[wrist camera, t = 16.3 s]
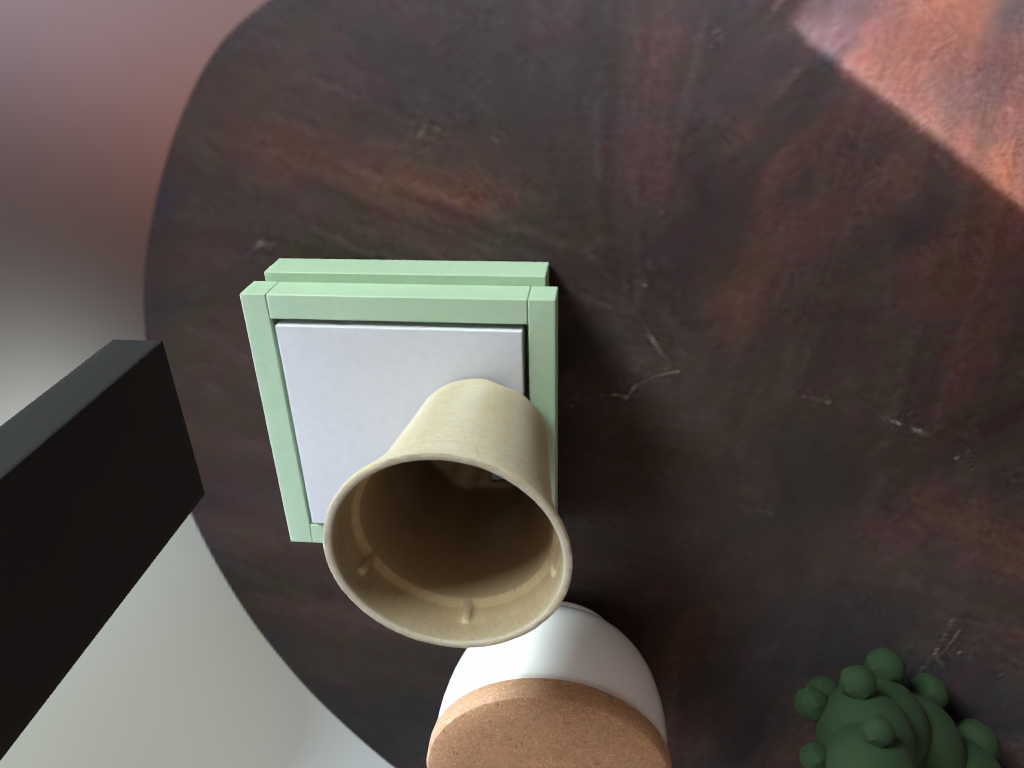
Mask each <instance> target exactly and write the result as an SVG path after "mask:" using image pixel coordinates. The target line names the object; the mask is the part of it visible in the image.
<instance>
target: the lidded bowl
mask: <svg viewBox="0 0 1024 768" xmlns="http://www.w3.org/2000/svg"><path fill="white" fill-rule="evenodd" d="M427 768H672V764H671V756H670V753H669V750H668V744H667V733H666V724H665V716H664V712H663V707H662V703H661V699H660V696H659V693H658V690H657V687H656V684H655V681H654V678H653V675H652V673H651V671H650V669H649V667H648V666H647V664H646V662H645V660H644V659H643V657H642V655H641V653H640V652H639V651H638V649H637V648H636V647H635V646H634V645H633V643H632V642H631V641H630V640H629V639H628V638H627V637H626V636H625V635H624V634H623V633H622V632H621V631H620V630H618V629H617V628H616V627H615V626H613V625H611V624H610V623H608V622H607V621H605V620H604V619H603V618H602V617H601V616H600V615H598V614H597V613H595V612H594V611H592V610H590V609H588V608H586V607H583V606H580V605H577V604H574V603H569V602H563V601H562V603H561V605H560V606H559V608H558V609H557V610H556V611H555V612H554V614H553V615H552V616H550V617H549V618H548V619H547V620H546V621H544V622H543V623H542V624H540V625H539V626H538V627H537V628H536V629H534V630H533V631H531V632H529V633H527V634H525V635H523V636H521V637H518V638H516V639H513V640H510V641H507V642H504V643H502V644H498V645H492V646H486V647H476V648H473V647H470V648H467V650H466V651H465V653H464V654H463V655H462V657H461V659H460V661H459V663H458V664H457V666H456V668H455V670H454V673H453V675H452V677H451V680H450V682H449V685H448V687H447V690H446V692H445V695H444V698H443V701H442V705H441V708H440V712H439V717H438V720H437V723H436V725H435V727H434V729H433V732H432V735H431V739H430V743H429V748H428V754H427Z"/></svg>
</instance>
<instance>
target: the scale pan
mask: <svg viewBox="0 0 1024 768" xmlns="http://www.w3.org/2000/svg"><path fill="white" fill-rule="evenodd" d="M276 331H277V337H278V342H279V347H280V353H281V358H282V363H283V369H284V374H285V379H286V385H287V390H288V395H289V400H290V406H291V411H292V416H293V422H294V427H295V432H296V438H297V443H298V448H299V453H300V459H301V464H302V469H303V475H304V480H305V485H306V491H307V496H308V501H309V507H310V512H311V517H312V522H313V523H324V521H325V518H326V514H327V511H328V508H329V506H330V503H331V501H332V499H333V498H334V496H335V495H336V493H337V492H338V490H339V489H340V488H341V487H342V486H343V484H344V483H345V482H346V481H347V480H348V479H349V478H350V477H351V476H353V475H354V474H355V473H356V472H358V471H359V470H360V469H362V468H363V467H365V466H366V465H368V464H370V463H372V462H374V461H376V460H377V459H378V458H380V457H381V456H383V455H385V454H386V453H387V451H388V450H389V449H390V448H391V446H392V445H393V444H394V442H395V441H396V440H397V439H398V437H399V436H400V435H401V433H402V432H403V431H404V429H405V428H406V427H407V426H408V424H409V423H410V422H411V420H412V419H413V418H414V416H415V415H416V414H417V412H418V411H419V409H420V408H421V406H422V405H423V403H424V402H425V401H426V400H427V398H428V397H429V396H430V395H432V394H433V393H434V392H435V391H437V390H438V389H440V388H441V387H443V386H445V385H447V384H449V383H452V382H455V381H459V380H464V379H487V380H489V381H492V382H494V383H497V384H499V385H502V386H505V387H507V388H510V389H513V390H516V391H519V392H520V393H522V394H523V395H524V396H525V397H526V398H527V361H526V324H488V323H446V322H403V321H360V320H317V319H281V320H280V322H279V323H278V324H277V325H276ZM491 479H492V480H499V479H504V478H502V477H500V476H498V475H496V474H492V475H491Z"/></svg>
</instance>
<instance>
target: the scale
mask: <svg viewBox="0 0 1024 768" xmlns="http://www.w3.org/2000/svg"><path fill="white" fill-rule="evenodd" d="M264 274H265V279H266V281H254V282H253V283H252V284H250V285H249V286H248V287H247V288H246V289H245V290H244V291H243V292H241V293H240V297H241V302H242V307H243V312H244V317H245V321H246V326H247V331H248V336H249V341H250V345H251V350H252V355H253V360H254V365H255V369H256V374H257V379H258V384H259V389H260V393H261V398H262V403H263V408H264V413H265V418H266V422H267V427H268V432H269V437H270V442H271V446H272V451H273V456H274V461H275V466H276V470H277V475H278V480H279V485H280V490H281V494H282V499H283V504H284V509H285V514H286V518H287V523H288V528H289V533H290V538H291V541H299V542H320V543H323V527H324V523H313V522H312V517H311V512H310V507H309V501H308V496H307V491H306V485H305V480H304V475H303V469H302V464H301V459H300V453H299V448H298V443H297V438H296V432H295V427H294V422H293V416H292V411H291V406H290V400H289V395H288V390H287V385H286V379H285V374H284V369H283V363H282V358H281V353H280V347H279V342H278V337H277V331H276V325H277V324H278V323H279V322H280V320H281V319H317V320H360V321H403V322H446V323H488V324H526V361H527V399H528V400H529V401H530V402H531V403H532V404H533V405H534V406H535V408H536V409H537V410H538V412H539V413H540V415H541V417H542V419H543V421H544V424H545V427H546V430H547V437H548V455H549V468H550V480H551V491H552V502H553V504H554V506H555V509H556V512H557V514H558V287H549V263H548V262H498V261H427V260H355V259H284V258H280V259H278V260H277V261H276V262H275V263H274V264H273V265H272V266H270V267H269V268H268V269H267V270H266V271H265V272H264Z"/></svg>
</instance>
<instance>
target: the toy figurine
mask: <svg viewBox="0 0 1024 768" xmlns="http://www.w3.org/2000/svg"><path fill="white" fill-rule="evenodd" d="M905 670H906V665H905V664H904V662H903V661H902V659H901V657H900V656H899V655H898V653H897V652H895V651H893V650H891V649H889V648H886V647H878V648H876V649H874V650H872V651H870V652H869V653H868V655H867V657H866V658H865V662H864V666H863V665H852V666H849V667H847V668H845V669H843V670H842V671H841V674H840V678H839V684H840V685H838V684H837V683H836V682H835V681H834V680H833V679H831V678H830V677H829V676H823V675H819V676H817V677H815V678H813V679H811V680H809V682H808V683H807V685H806V687H804V688H802V689H800V690H798V692H797V694H796V696H795V698H794V700H793V702H794V706H795V711H796V712H797V713H798V714H799V715H800V716H801V717H802V718H803V719H804V720H805V721H811V722H816V724H815V731H816V738H817V742H808V743H807V744H806V745H804V746H803V747H801V750H800V754H799V760H800V763H801V765H802V766H803V767H804V768H1002V767H1001V766H1000V764H999V763H998V762H997V760H998V758H999V755H1000V743H999V741H998V738H997V736H996V734H995V732H994V731H993V730H992V729H990V728H989V727H988V726H987V725H985V724H984V723H982V722H980V721H978V720H977V719H972V718H965V719H963V720H960V721H958V722H956V723H954V721H953V720H952V718H951V717H950V716H949V715H948V714H947V713H946V712H945V711H944V710H943V709H942V708H945V706H946V705H947V704H948V702H949V697H948V690H947V687H946V683H945V682H943V681H942V680H941V679H940V678H939V677H938V676H936V675H934V674H930V673H919V674H917V675H916V676H914V677H913V678H911V679H910V681H909V683H908V689H907V688H906V687H904V686H903V685H902V684H900V683H901V682H902V681H903V678H904V675H905Z"/></svg>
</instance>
